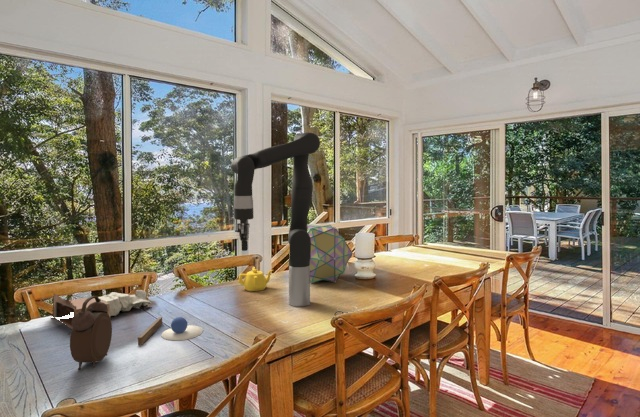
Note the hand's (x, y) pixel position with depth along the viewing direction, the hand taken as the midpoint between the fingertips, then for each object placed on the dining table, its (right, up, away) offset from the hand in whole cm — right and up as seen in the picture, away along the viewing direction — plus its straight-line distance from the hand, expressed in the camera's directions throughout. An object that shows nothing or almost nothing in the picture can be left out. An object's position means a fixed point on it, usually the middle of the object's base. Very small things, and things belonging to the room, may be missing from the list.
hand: (244, 250), depth 160 cm
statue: (-57, -28, 0) cm, 63 cm away
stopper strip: (-30, -28, -17) cm, 45 cm away
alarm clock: (-38, -30, -41) cm, 63 cm away
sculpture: (+31, -23, +60) cm, 71 cm away
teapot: (-2, -24, +43) cm, 49 cm away
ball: (-20, -25, -17) cm, 36 cm away
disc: (-19, -28, -17) cm, 38 cm away
